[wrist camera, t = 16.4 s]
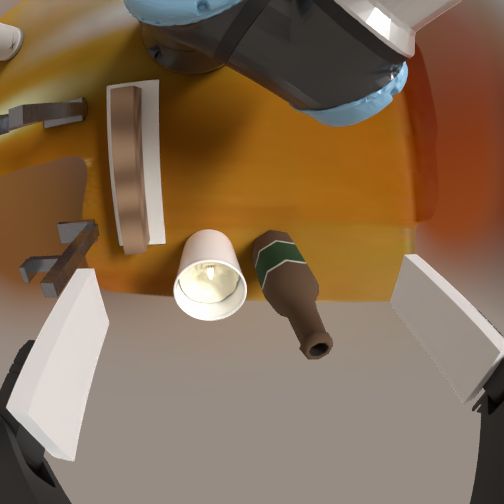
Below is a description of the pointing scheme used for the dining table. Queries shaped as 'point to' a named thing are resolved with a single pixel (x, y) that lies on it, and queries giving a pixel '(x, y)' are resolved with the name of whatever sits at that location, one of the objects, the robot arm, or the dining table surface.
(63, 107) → the hook rack
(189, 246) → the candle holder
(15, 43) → the travel mug
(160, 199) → the grey mat
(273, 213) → the dining table surface
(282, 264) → the beer bottle
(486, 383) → the robot arm
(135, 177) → the walnut bar
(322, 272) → the dining table surface
